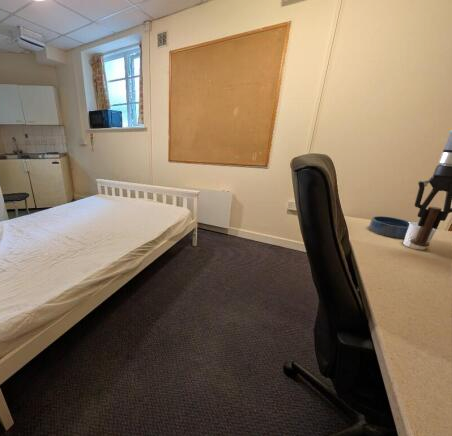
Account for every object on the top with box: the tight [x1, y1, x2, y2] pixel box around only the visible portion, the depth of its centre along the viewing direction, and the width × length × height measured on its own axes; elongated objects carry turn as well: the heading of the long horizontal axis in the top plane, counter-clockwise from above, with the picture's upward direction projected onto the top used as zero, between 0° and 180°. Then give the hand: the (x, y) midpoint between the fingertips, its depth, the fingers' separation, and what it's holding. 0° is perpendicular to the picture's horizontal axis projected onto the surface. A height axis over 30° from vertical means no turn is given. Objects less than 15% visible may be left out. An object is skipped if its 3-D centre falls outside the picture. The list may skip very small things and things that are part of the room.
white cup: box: [403, 221, 438, 251], centre depth 96 cm, size 8×8×10 cm
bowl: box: [368, 215, 412, 239], centre depth 110 cm, size 15×16×6 cm
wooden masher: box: [410, 206, 442, 248], centre depth 85 cm, size 5×5×15 cm
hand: (426, 226), depth 85 cm, fingers closed on wooden masher, 3 cm apart
